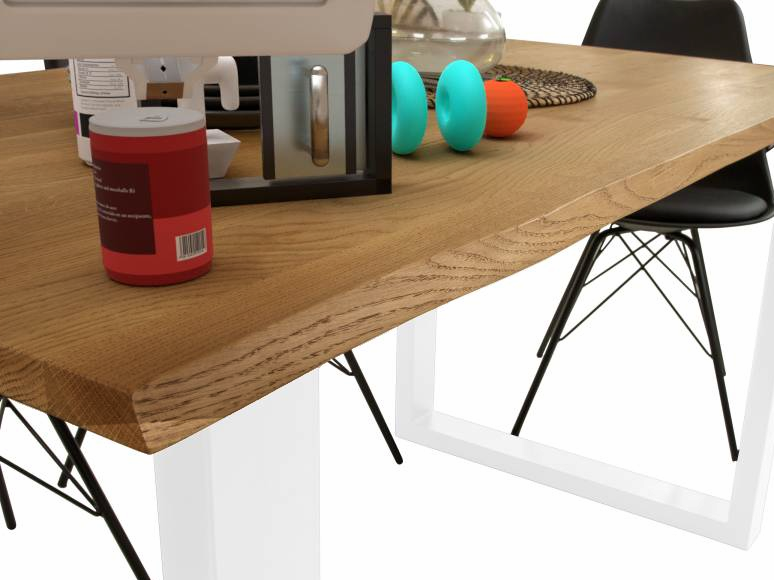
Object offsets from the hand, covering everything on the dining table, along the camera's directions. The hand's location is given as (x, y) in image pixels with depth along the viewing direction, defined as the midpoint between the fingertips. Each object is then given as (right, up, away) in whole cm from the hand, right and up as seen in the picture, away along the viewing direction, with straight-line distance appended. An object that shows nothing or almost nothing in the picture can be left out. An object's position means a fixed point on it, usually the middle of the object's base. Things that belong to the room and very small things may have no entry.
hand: (162, 89), depth 54 cm
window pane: (+4, -1, +36) cm, 36 cm away
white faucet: (-10, +1, +46) cm, 47 cm away
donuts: (+13, +5, +58) cm, 60 cm away
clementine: (+22, +8, +68) cm, 72 cm away
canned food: (-5, -9, +18) cm, 21 cm away
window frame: (-1, -2, +38) cm, 38 cm away
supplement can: (-19, +3, +51) cm, 54 cm away
